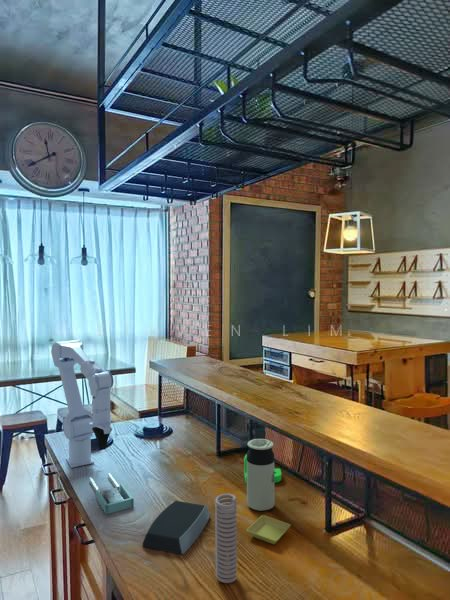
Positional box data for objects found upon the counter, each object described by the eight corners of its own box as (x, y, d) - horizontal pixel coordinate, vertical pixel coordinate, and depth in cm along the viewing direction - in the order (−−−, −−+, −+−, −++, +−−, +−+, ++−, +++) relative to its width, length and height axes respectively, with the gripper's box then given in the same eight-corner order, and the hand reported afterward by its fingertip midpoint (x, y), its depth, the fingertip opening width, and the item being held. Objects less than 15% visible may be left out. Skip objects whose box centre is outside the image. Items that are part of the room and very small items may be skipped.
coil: (213, 583, 93) (213, 501, 92) (217, 569, 97) (217, 490, 97) (235, 585, 92) (235, 502, 91) (238, 571, 97) (237, 492, 96)
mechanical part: (245, 483, 139) (245, 458, 139) (244, 475, 145) (244, 451, 145) (282, 482, 140) (282, 458, 139) (279, 474, 146) (279, 450, 145)
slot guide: (89, 482, 140) (89, 477, 140) (109, 477, 143) (109, 472, 143) (98, 496, 131) (98, 491, 131) (119, 491, 134) (119, 486, 134)
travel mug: (242, 507, 124) (242, 445, 123) (253, 495, 131) (253, 436, 130) (268, 514, 120) (268, 450, 119) (278, 501, 127) (278, 441, 127)
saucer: (276, 549, 105) (276, 541, 105) (245, 537, 110) (245, 529, 110) (291, 532, 112) (291, 524, 112) (262, 521, 117) (262, 514, 117)
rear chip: (103, 497, 131) (103, 491, 131) (116, 494, 133) (116, 488, 133) (106, 503, 127) (106, 496, 127) (120, 500, 129) (120, 493, 129)
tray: (96, 498, 130) (96, 490, 130) (122, 491, 134) (122, 483, 134) (105, 514, 121) (105, 505, 120) (133, 506, 125) (133, 498, 125)
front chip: (106, 503, 127) (106, 497, 127) (119, 500, 129) (119, 493, 129) (110, 509, 124) (110, 503, 124) (124, 506, 126) (123, 499, 126)
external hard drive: (212, 517, 120) (212, 503, 119) (185, 557, 102) (184, 541, 102) (172, 510, 124) (172, 496, 124) (139, 547, 106) (139, 531, 106)
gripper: (84, 404, 148) (84, 444, 148) (94, 416, 135) (95, 459, 136) (104, 401, 151) (105, 440, 152) (116, 412, 139) (117, 454, 139)
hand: (102, 448), depth 144 cm, fingers closed
